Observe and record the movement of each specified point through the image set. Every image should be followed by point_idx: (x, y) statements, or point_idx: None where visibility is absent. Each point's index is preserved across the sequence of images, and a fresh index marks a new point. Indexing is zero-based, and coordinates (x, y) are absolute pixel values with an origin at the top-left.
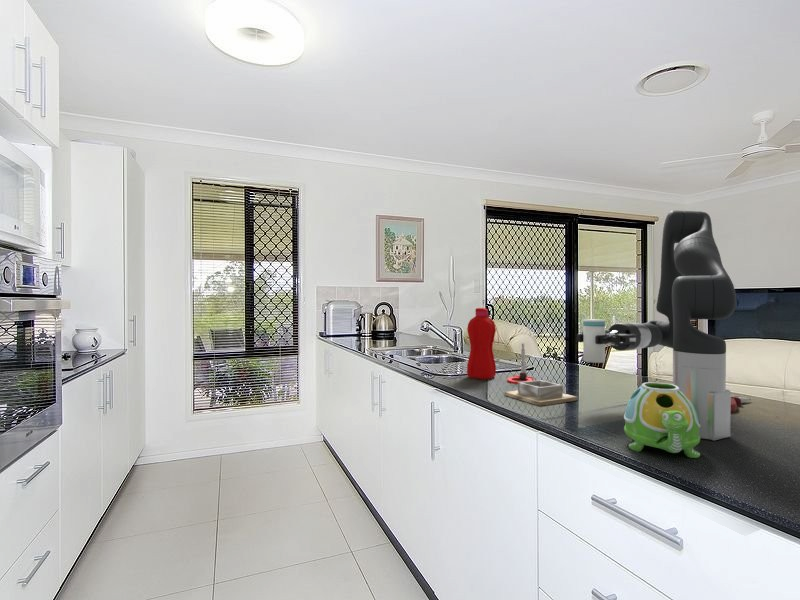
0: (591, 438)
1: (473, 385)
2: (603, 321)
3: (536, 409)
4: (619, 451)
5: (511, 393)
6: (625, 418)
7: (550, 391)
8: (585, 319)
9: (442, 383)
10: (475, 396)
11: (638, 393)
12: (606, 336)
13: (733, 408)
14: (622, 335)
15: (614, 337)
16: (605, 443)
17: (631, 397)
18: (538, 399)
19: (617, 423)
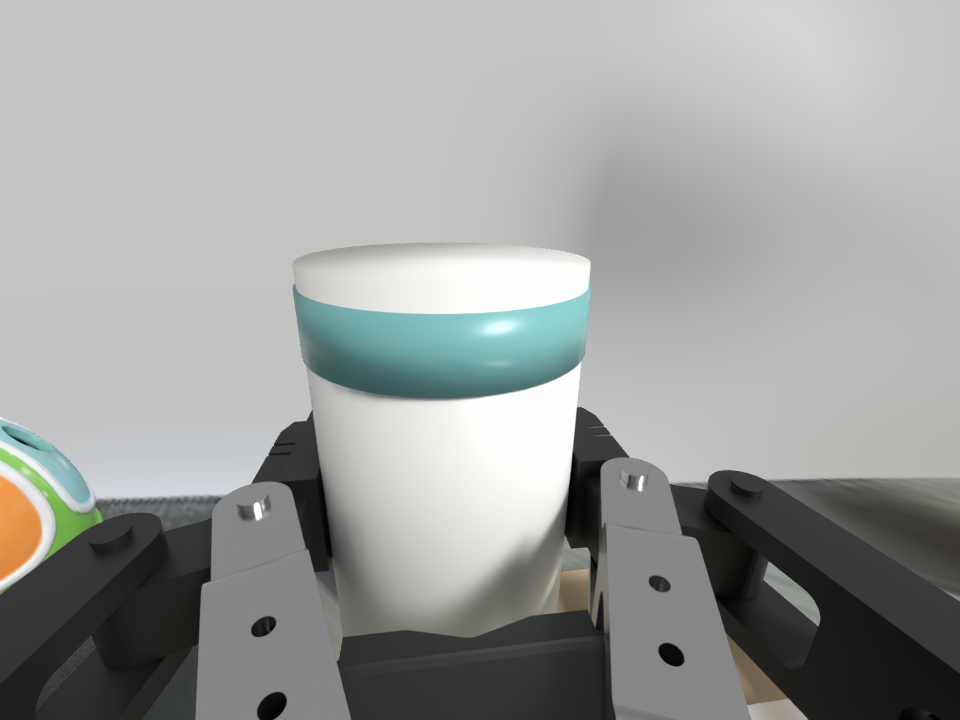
0: (207, 512)
1: (936, 550)
2: (296, 281)
3: None
4: (117, 506)
5: None
6: (86, 483)
7: None
8: (529, 249)
9: (916, 482)
10: (695, 487)
11: (15, 426)
12: (284, 484)
13: None
14: (7, 593)
15: (171, 533)
16: (162, 514)
17: (48, 453)
18: (582, 594)
19: (180, 692)
